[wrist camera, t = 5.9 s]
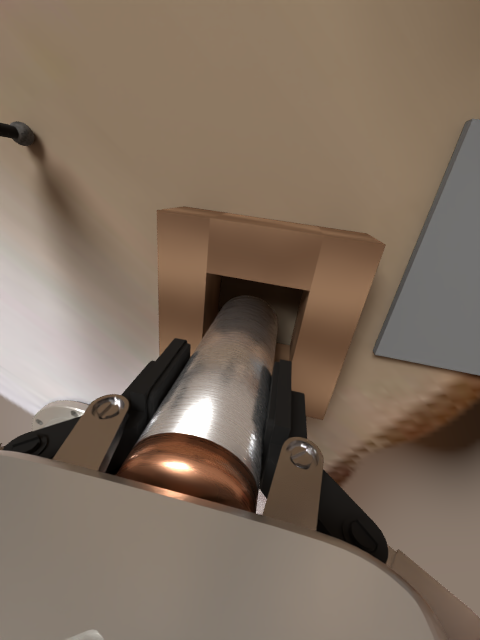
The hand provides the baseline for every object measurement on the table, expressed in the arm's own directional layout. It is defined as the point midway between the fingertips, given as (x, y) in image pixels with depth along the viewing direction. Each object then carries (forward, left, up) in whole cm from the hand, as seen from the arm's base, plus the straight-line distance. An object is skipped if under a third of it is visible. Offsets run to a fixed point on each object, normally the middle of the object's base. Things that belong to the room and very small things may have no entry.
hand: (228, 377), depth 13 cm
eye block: (0, 0, -9) cm, 9 cm away
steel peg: (0, 0, -6) cm, 6 cm away
